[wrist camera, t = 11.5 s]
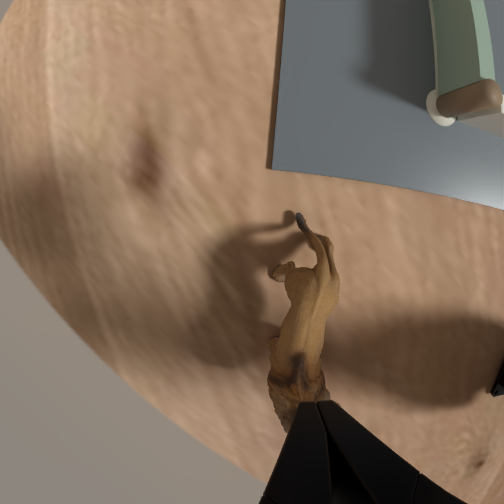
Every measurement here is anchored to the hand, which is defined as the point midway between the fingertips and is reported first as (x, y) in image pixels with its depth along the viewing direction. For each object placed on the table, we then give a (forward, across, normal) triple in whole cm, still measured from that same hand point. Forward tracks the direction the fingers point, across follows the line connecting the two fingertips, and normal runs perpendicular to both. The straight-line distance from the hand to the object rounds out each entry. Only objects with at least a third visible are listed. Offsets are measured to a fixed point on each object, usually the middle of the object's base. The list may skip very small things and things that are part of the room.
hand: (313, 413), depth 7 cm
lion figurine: (+13, -1, +2) cm, 14 cm away
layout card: (+13, -11, -15) cm, 23 cm away
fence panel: (+13, -11, -11) cm, 20 cm away
